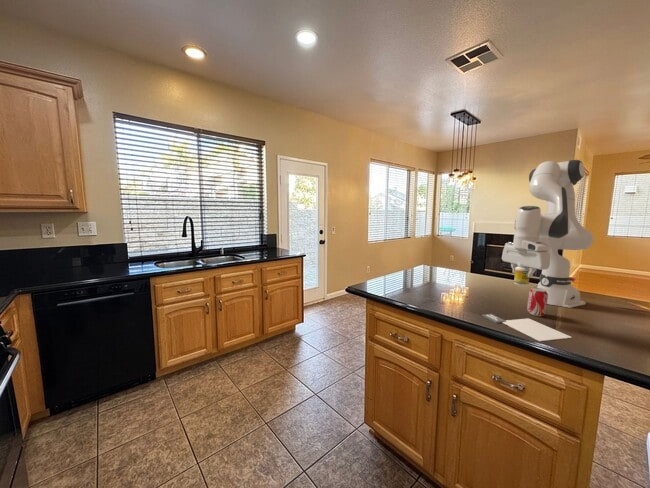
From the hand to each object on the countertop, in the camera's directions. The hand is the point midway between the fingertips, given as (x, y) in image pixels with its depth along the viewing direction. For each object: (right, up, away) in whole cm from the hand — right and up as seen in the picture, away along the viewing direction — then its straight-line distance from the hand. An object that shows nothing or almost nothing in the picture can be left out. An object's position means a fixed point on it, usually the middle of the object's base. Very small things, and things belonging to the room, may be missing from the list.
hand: (522, 275), depth 122 cm
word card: (-11, -19, +2) cm, 23 cm away
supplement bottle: (0, -4, 0) cm, 4 cm away
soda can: (+12, -19, +8) cm, 24 cm away
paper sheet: (-1, -21, -8) cm, 23 cm away
